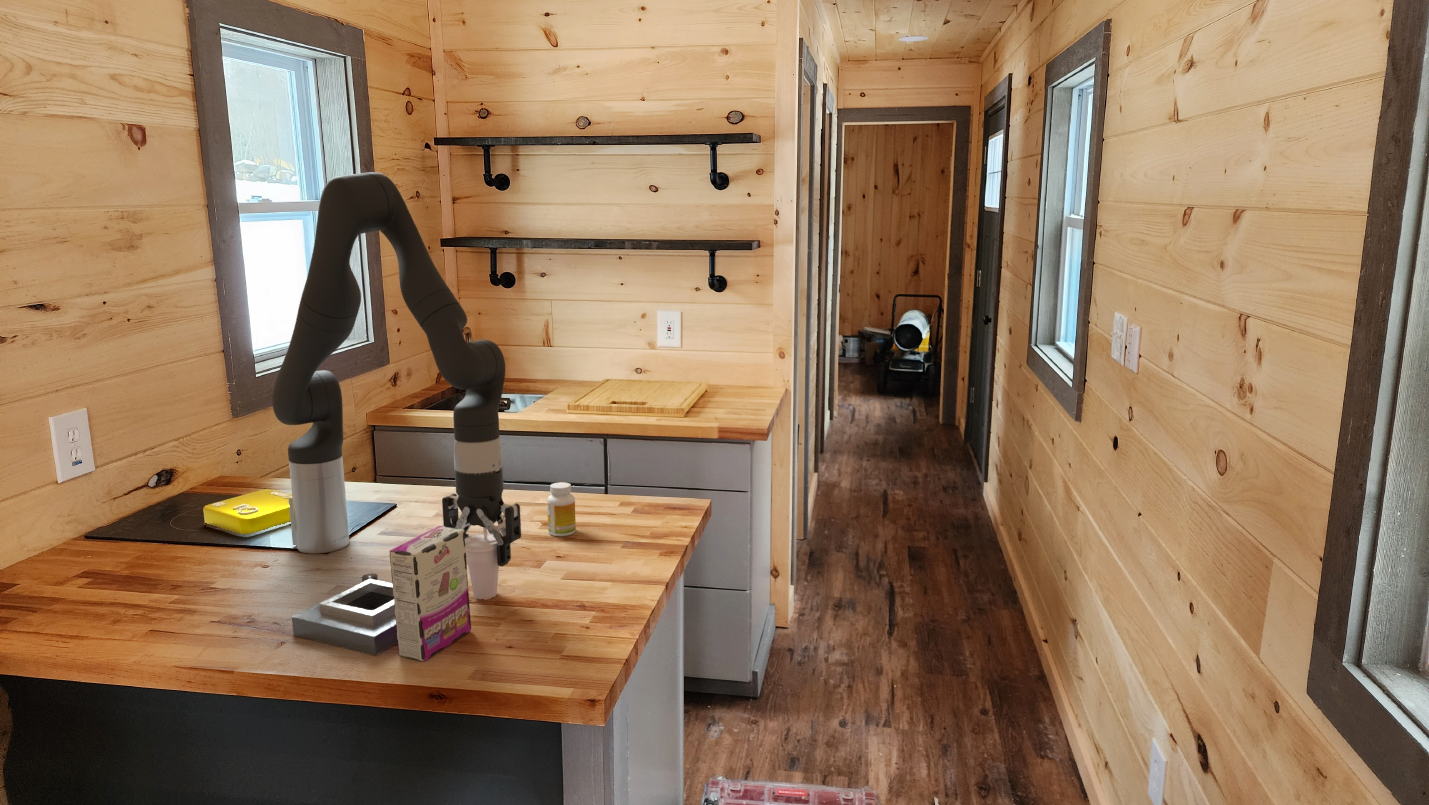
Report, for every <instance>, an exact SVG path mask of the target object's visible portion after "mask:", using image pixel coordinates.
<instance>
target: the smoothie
mask: <svg viewBox="0 0 1429 805" xmlns="http://www.w3.org/2000/svg"><path fill="white" fill-rule="evenodd" d="M482 529H483V530H482V532H483V533H476V534H473V535H469V537H467V538H465V549H466V563H467V569H468V573H469V577H470V578H469V579H470V583H471V588H472V594H473V597H474V598H475V599H477V600H481V599H484V600H490V599H493V598H495V597H496V596H497V593H498V583H499V570H500V569H499V568H500V566H498V564H497V545H498V543H497V541H496V539H495V538H494V536H493V535H492V534H490V533H489V532H488V530H487V528H485V527H482ZM492 597H493V598H492Z"/></svg>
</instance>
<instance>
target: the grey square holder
mask: <svg viewBox="0 0 1429 805" xmlns="http://www.w3.org/2000/svg"><path fill="white" fill-rule="evenodd" d="M378 577H379V576H378V573H373V572H372V573H371V572H370V573H366V574H363V575H362V576H361V582H360V583H358V584H356V585H354V586H352V587H349V588H347V589H345V590H343V591H341V592H339V593H337V594H335V595H333V596H332V597H329V598H327V599H325V600H323V601H321V602H319V603H317V604H314V605H313V606H310V607H308V608H307V609H305V610H303V611H300V612H298V613H297V614H294V615H292V616H291V621H292V622H291V624H292V634H293V636H295V637H299V638H303V639H307V640H311V641H315V642H318V643H319V642H320V643H323V644H327V645H329V646H330V645H331V646H334V647H339V648H342V647H343V649H346V650H350V651H354V652H359V653H362V652H363V654H367V655H371V656H374V655H375V656H374V657H376V656H378V655H379V653H380V654H382V653H383V652H385V651H386V650H388V649H390V648H392V647H393V646H395V645H398V640H397V629H396V618H395V606H394V595H393V586H392V582H389V581H383V580H379V578H378ZM391 646H392V647H391ZM377 654H378V655H377Z"/></svg>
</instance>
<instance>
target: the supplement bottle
mask: <svg viewBox="0 0 1429 805" xmlns="http://www.w3.org/2000/svg"><path fill="white" fill-rule="evenodd" d="M549 486H550V487H549V488H550V489H549V490H550V495H549V496H548V497H547V498H546V501H547V503H546V505H547V506H546V507H547V508H546V509H547V529H548V530H547V531H548V534H549V535H551V536H554V537H567V536H572V535H573V534H575V532H576V529H577V526H576V525H577V523H576V522H577V521H576V498H575V496H574V494H573V493H572V485H571V483H568V482H560V481H559V482H554V483H551V484H550V485H549Z"/></svg>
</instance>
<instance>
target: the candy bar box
mask: <svg viewBox="0 0 1429 805" xmlns="http://www.w3.org/2000/svg"><path fill="white" fill-rule="evenodd" d="M388 552H389V562H390V570H391V571H390V572H391V583H392V586H393V595H394V606H395V618H396V629H397V640H398V643H397V648H398V649H397V650H398V656H399V657H400V658H401V657H402V658H404V657H406V659H409V660H415V661H419V662H426V661H428V660H430V659H431V658H432V657H434V656H436V655H437V654H438V653H440V652H441V651H442V650H444V649H445V648H447V647H449V646H450V645H451V644H453V643H454V642H456V641H457V640H459V639H461V638H462V637H463V636H465V635H466V634H468V633H469V632H470V631H472V624H471V623H472V621H471V608H470V595H469V593H470V592H469V581H468V562H467V558H466V549H465V535H464V530H463V529H457V528H452V527H446V526H444V525H438V526H436V527H435V528H432V529H431V530H428V531H426V532H424V533H422V534H420V535H418V536H416V537H414V538H412V539H410V540H408V541H406V542H404V543H402V544H400V545H398V546H396V547H394V548H392V549H390V550H389V551H388Z"/></svg>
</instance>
